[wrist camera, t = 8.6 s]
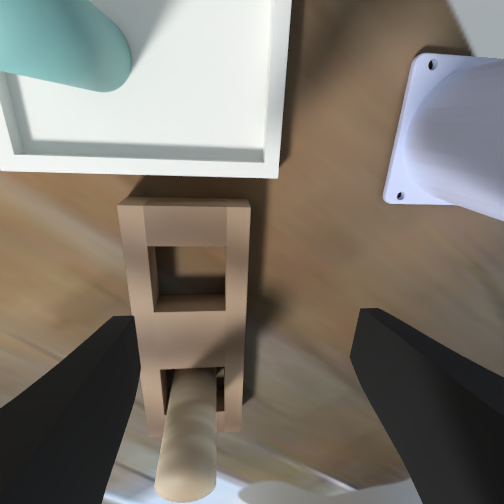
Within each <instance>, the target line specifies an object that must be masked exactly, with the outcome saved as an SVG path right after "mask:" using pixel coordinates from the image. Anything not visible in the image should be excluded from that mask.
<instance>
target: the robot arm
mask: <svg viewBox="0 0 504 504" xmlns="http://www.w3.org/2000/svg"><path fill="white" fill-rule="evenodd" d="M430 61H432V62H433V67H432V69H431V70H430V69H429V68H428V64H429V62H430ZM400 192H401V197H400V198H398V199H397V195H398V193H400ZM383 199H384V201H385V202H387V203H390V204H436V205H458V206H461V207H464V208H467V209H470V210H473V211H476V212H478V213H481V214H484V215H487V216H490V217H493V218H496V219H499V220H502V221H504V59H496V58H484V57H472V56H460V55H447V54H435V53H422V54H419V55H418V56H416V57H415V58H414V60H413V62H412V64H411V69H410V74H409V78H408V83H407V87H406V92H405V96H404V101H403V105H402V110H401V114H400V119H399V124H398V128H397V133H396V137H395V142H394V146H393V151H392V155H391V160H390V164H389V169H388V174H387V178H386V183H385V187H384V192H383ZM350 359H351V362H352V364H353V367H354V370H355V372H356V375H357V377H358V379H359V382H360V384H361V386H362V388H363V390H364V392H365V394H366V396H367V398H368V399H369V401H370V403H371V405H372V407H373V408H374V410H375V412H376V414H377V416H378V417H379V419H380V421H381V423H382V425H383V426H384V428H385V430H386V432H387V433H388V435H389V437H390V439H391V441H392V442H393V444H394V446H395V448H396V449H397V451H398V453H399V455H400V457H401V459H402V461H403V462H404V464H405V466H406V468H407V470H408V472H409V474H410V476H411V479H412V481H413V483H414V485H415V487H416V489H417V492H418V494H419V496H420V498H421V500H422V503H423V504H504V377H502V376H500V375H498V374H496V373H494V372H492V371H490V370H488V369H486V368H484V367H482V366H480V365H478V364H476V363H475V362H473V361H471V360H469V359H467V358H465V357H463V356H461V355H460V354H458V353H456V352H454V351H453V350H451V349H449V348H447V347H445V346H444V345H442V344H440V343H438V342H437V341H435V340H433V339H432V338H430V337H428V336H426V335H425V334H423V333H421V332H420V331H418V330H416V329H415V328H413V327H411V326H410V325H408V324H406V323H404V322H403V321H401V320H399V319H398V318H396V317H394V316H392V315H390V314H389V313H387V312H385V311H383V310H381V309H379V308H363V309H360V313H359V317H358V322H357V326H356V331H355V335H354V340H353V344H352V349H351V353H350ZM140 372H141V363H140V355H139V348H138V340H137V332H136V325H135V317H134V316H113V317H112V318H110V319H109V320H108V321H107V322H106V323H105V324H103V325H102V326H101V327H100V328H99V329H98V330H97V331H96V332H94V333H93V334H92V335H91V336H90V337H89V338H88V339H87V340H85V341H84V342H83V343H82V344H81V345H80V346H79V347H77V348H76V349H75V350H74V351H73V352H72V353H70V354H69V355H68V356H67V357H66V358H65V359H63V360H62V361H61V362H60V363H59V364H57V365H56V366H55V367H54V368H52V369H51V370H50V371H49V372H47V373H46V374H45V375H44V376H42V377H41V378H40V379H39V380H37V381H36V382H35V383H33V384H32V385H31V386H30V387H28V388H27V389H26V390H25V391H23V392H22V393H21V394H19V395H18V396H17V397H15V398H14V399H13V400H11V401H10V402H9V403H7V404H6V405H4V406H3V407H2V408H0V504H101V503H102V500H103V496H104V493H105V489H106V486H107V483H108V480H109V477H110V474H111V471H112V468H113V465H114V462H115V459H116V456H117V453H118V450H119V447H120V444H121V441H122V438H123V435H124V432H125V429H126V426H127V423H128V420H129V416H130V413H131V410H132V407H133V404H134V401H135V396H136V392H137V387H138V382H139V377H140Z"/></svg>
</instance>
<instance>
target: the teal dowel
mask: <svg viewBox="0 0 504 504" xmlns="http://www.w3.org/2000/svg"><path fill="white" fill-rule="evenodd" d="M131 64H132V58H131V51H130V47H129V44H128V42H127V39H126V38H125V36H124V34H123V33H122V31H121V30H120V29H119V27H118V26H117V25H116V24H115V23H114V22H112V21H111V20H110V19H109V18H108V17H107V16H106V15H105V14H103V13H102V12H101V11H100V10H99V9H98V8H97V7H96V6H94V5H93V4H92V3H91V2H90V1H89V0H0V71H3V72H8V73H13V74H17V75H22V76H26V77H31V78H36V79H40V80H45V81H49V82H54V83H59V84H63V85H68V86H73V87H77V88H82V89H86V90H91V91H96V92H111V91H114V90H116V89H118V88H119V87H121V86H122V85H123V84H124V83H125V81H126V80H127V78H128V76H129V74H130V71H131Z"/></svg>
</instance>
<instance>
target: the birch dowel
mask: <svg viewBox="0 0 504 504" xmlns="http://www.w3.org/2000/svg"><path fill="white" fill-rule="evenodd" d="M215 486H216V367H204V368H182V369H174V375H173V381H172V387H171V392H170V398H169V404H168V410H167V416H166V421H165V427H164V433H163V439H162V445H161V450H160V456H159V462H158V468H157V474H156V479H155V490H156V492H157V494H158V495H159V496H161V497H162V498H164V499H166V500H169V501H172V502H182V503H183V502H192V501H196V500H199V499H202V498H204V497H206V496H207V495H209V494H210V493H211V492H212V491H213V490H214V488H215Z"/></svg>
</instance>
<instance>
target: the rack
mask: <svg viewBox="0 0 504 504" xmlns="http://www.w3.org/2000/svg"><path fill="white" fill-rule="evenodd" d="M117 209H118V216H119V224H120V231H121V238H122V245H123V253H124V260H125V267H126V274H127V282H128V289H129V296H130V304H131V311H132V316H134V317H135V325H136V332H137V340H138V348H139V355H140V363H141V372H140V376H141V384H142V391H143V398H144V406H145V413H146V420H147V427H148V435H149V437H163V433H164V427H165V421H166V416H167V410H168V404H169V398H170V393H168V383H167V372H166V369H182V368H204V367H224V390H216V433H220V432H234V431H241V417H242V394H243V372H244V349H245V326H246V304H247V281H248V258H249V236H250V213H251V207H250V204H249V202H248V199H229V198H177V197H126V198H125V199H124V200H123V201H122V202H120V203H119V204H118V205H117ZM155 246H225V294H202V295H159V284H158V273H157V262H156V251H155Z"/></svg>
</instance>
